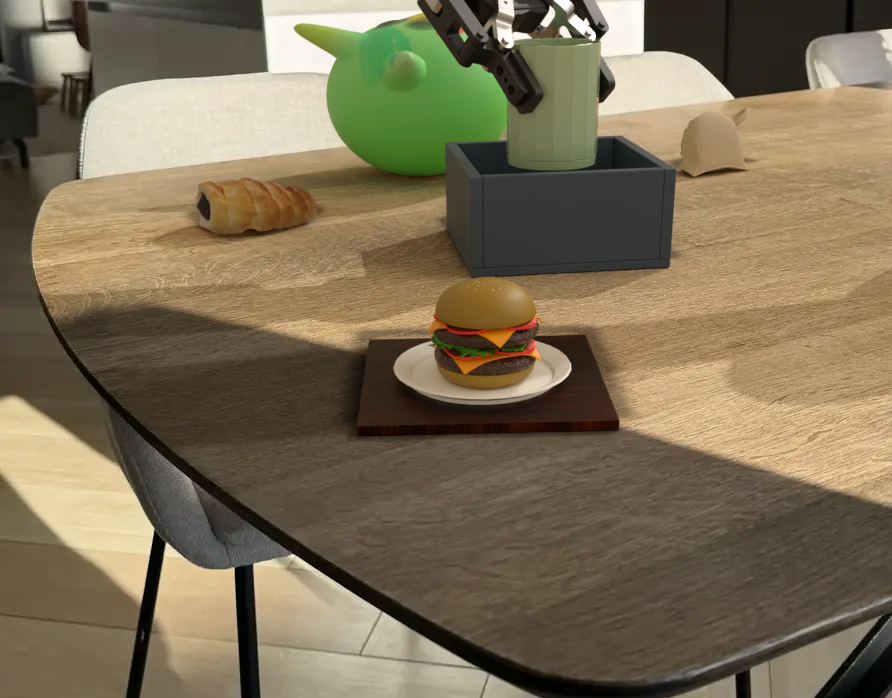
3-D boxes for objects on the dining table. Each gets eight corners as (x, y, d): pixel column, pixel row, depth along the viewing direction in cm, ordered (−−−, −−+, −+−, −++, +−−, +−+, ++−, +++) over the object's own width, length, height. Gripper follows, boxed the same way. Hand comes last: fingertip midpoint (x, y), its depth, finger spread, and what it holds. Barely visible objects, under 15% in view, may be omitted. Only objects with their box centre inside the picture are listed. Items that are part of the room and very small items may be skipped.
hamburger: (369, 347, 62) (364, 250, 60) (585, 342, 62) (588, 245, 60) (357, 435, 51) (350, 321, 49) (618, 429, 51) (624, 315, 49)
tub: (584, 152, 82) (588, 36, 78) (605, 168, 76) (610, 44, 73) (500, 155, 81) (501, 38, 78) (515, 172, 75) (516, 47, 72)
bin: (617, 221, 88) (621, 135, 85) (670, 267, 75) (676, 168, 73) (446, 229, 86) (444, 142, 84) (471, 277, 74) (470, 177, 71)
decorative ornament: (665, 170, 106) (668, 112, 104) (734, 161, 109) (739, 105, 107) (691, 177, 102) (695, 117, 100) (763, 168, 106) (768, 110, 104)
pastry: (300, 210, 93) (296, 163, 92) (330, 227, 88) (327, 178, 86) (190, 224, 89) (184, 176, 88) (215, 243, 84) (209, 192, 82)
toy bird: (545, 172, 106) (548, 6, 100) (416, 202, 95) (411, 18, 89) (415, 151, 118) (411, 1, 111) (287, 175, 107) (275, 11, 101)
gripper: (396, -136, 72) (521, 72, 68) (555, -131, 80) (673, 54, 77) (352, -46, 78) (465, 149, 74) (504, -50, 86) (612, 124, 83)
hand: (570, 100), depth 75 cm, fingers closed on tub, 6 cm apart
